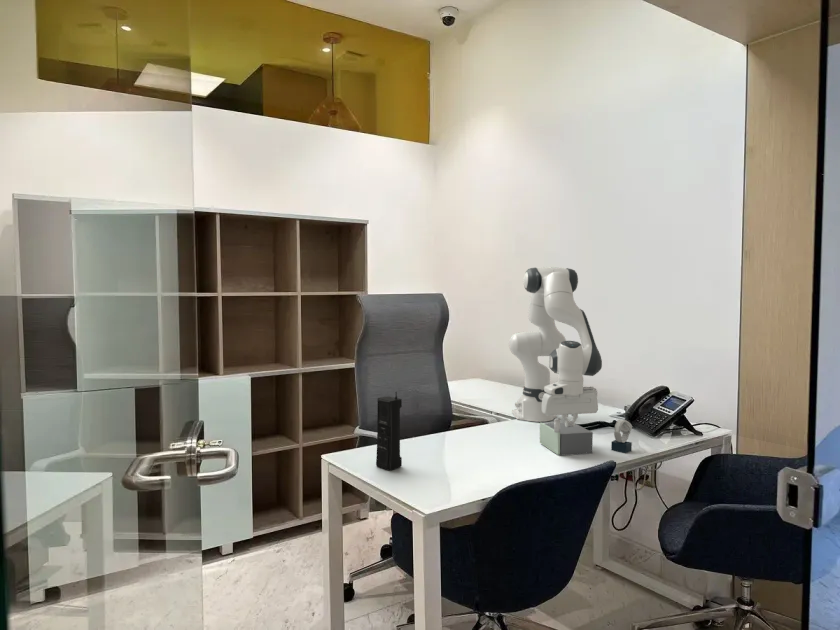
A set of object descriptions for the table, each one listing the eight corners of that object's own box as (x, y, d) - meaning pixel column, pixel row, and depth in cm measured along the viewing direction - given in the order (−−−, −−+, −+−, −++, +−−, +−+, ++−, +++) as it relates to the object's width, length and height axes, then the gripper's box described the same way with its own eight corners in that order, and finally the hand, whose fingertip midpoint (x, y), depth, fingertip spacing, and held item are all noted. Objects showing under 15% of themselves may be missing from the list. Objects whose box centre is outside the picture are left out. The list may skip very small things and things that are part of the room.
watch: (633, 449, 196) (634, 419, 196) (624, 454, 191) (624, 423, 190) (618, 446, 200) (619, 417, 200) (608, 451, 195) (609, 420, 194)
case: (542, 443, 204) (542, 423, 204) (572, 441, 207) (572, 422, 206) (560, 455, 190) (561, 434, 189) (592, 453, 192) (592, 432, 192)
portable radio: (372, 465, 179) (372, 390, 178) (386, 461, 183) (386, 388, 182) (388, 471, 173) (388, 393, 172) (402, 467, 178) (402, 391, 176)
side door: (538, 442, 204) (538, 410, 203) (543, 442, 204) (543, 410, 204) (556, 454, 189) (556, 420, 189) (561, 454, 190) (561, 420, 189)
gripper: (592, 384, 196) (592, 422, 197) (539, 387, 192) (539, 425, 193) (601, 388, 190) (601, 427, 191) (547, 390, 186) (547, 430, 186)
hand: (569, 426), depth 192 cm, fingers closed
